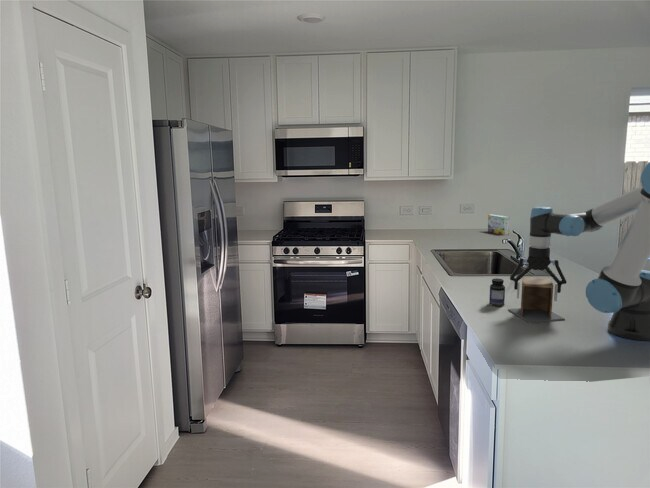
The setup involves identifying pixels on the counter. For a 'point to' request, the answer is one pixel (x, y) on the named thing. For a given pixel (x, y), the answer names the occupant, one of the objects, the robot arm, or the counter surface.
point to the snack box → (498, 224)
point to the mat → (535, 315)
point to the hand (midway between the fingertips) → (536, 298)
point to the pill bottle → (497, 292)
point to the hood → (537, 295)
